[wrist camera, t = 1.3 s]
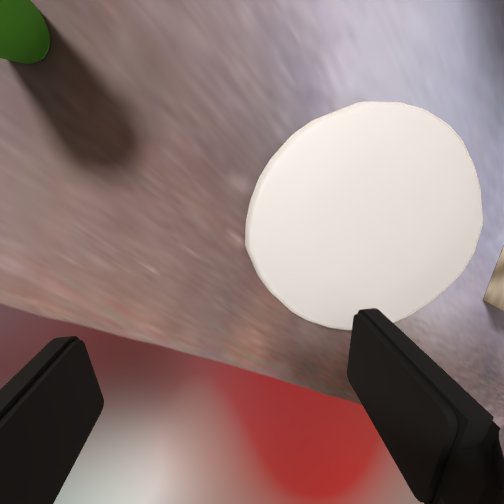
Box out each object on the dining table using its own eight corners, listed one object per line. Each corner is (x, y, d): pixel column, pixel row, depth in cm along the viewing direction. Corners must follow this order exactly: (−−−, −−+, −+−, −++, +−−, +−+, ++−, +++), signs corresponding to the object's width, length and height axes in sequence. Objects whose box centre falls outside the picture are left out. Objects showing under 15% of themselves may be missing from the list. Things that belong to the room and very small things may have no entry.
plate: (200, 264, 26) (363, 19, 20) (210, 248, 33) (337, 57, 26) (383, 378, 31) (566, 210, 24) (362, 344, 37) (502, 203, 31)
